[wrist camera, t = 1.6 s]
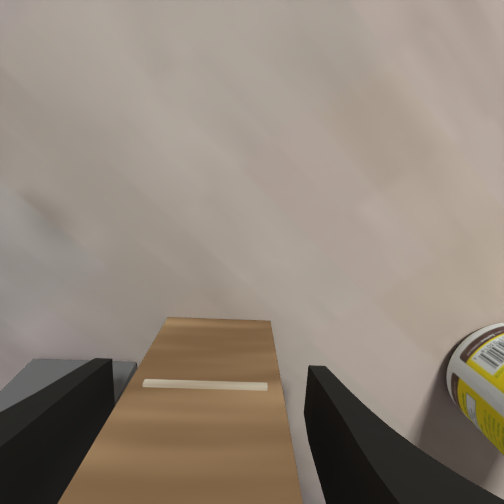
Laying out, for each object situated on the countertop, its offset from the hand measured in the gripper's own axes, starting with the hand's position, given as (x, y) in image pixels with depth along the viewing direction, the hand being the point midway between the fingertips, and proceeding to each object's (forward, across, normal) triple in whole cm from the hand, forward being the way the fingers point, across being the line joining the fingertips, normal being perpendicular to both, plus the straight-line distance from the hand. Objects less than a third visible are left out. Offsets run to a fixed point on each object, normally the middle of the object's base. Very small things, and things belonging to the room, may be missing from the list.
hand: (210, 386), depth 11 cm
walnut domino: (+4, 0, 0) cm, 4 cm away
